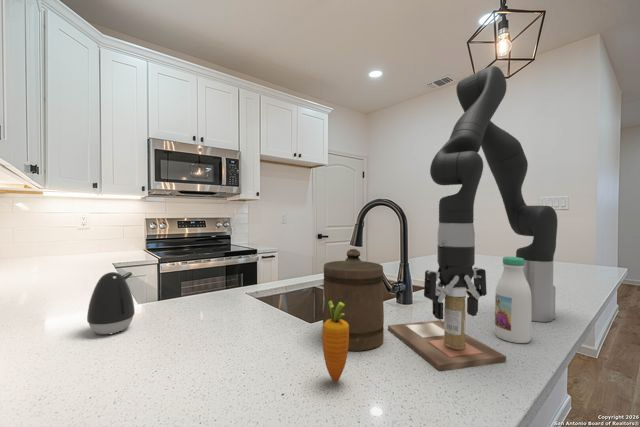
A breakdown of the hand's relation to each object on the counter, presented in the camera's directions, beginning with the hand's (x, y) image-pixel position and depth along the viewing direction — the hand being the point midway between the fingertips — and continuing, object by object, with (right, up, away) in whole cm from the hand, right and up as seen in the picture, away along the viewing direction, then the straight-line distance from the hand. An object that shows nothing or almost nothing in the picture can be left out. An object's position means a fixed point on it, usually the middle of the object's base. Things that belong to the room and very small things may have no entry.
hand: (455, 316), depth 69 cm
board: (-2, -8, +5) cm, 10 cm away
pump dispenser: (-84, -8, +12) cm, 85 cm away
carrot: (-27, -8, -12) cm, 31 cm away
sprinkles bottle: (0, -7, 0) cm, 7 cm away
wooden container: (-22, -8, +8) cm, 25 cm away
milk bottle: (+18, -8, +9) cm, 22 cm away
